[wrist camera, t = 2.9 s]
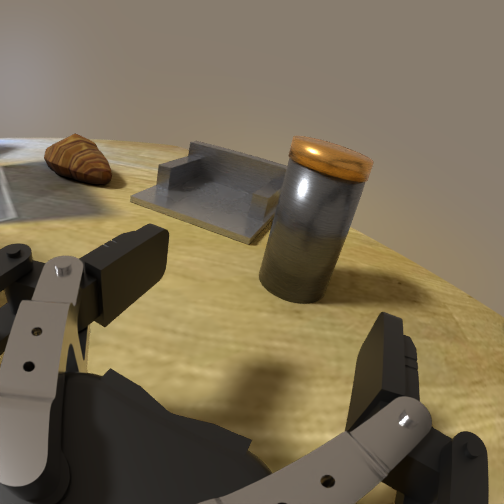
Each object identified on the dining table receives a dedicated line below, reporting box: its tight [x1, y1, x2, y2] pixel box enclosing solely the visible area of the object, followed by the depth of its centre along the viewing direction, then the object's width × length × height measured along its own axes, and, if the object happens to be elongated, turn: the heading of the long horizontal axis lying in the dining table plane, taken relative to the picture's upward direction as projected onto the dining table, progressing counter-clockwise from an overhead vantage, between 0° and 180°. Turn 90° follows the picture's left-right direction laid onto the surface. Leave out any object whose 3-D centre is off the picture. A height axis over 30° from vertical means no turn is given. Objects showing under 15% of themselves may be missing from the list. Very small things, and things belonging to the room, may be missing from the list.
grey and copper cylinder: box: [259, 136, 373, 303], centre depth 21 cm, size 5×5×10 cm
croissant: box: [44, 134, 112, 184], centre depth 33 cm, size 14×7×5 cm, turn 63°
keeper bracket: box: [130, 141, 287, 245], centre depth 33 cm, size 12×12×5 cm
